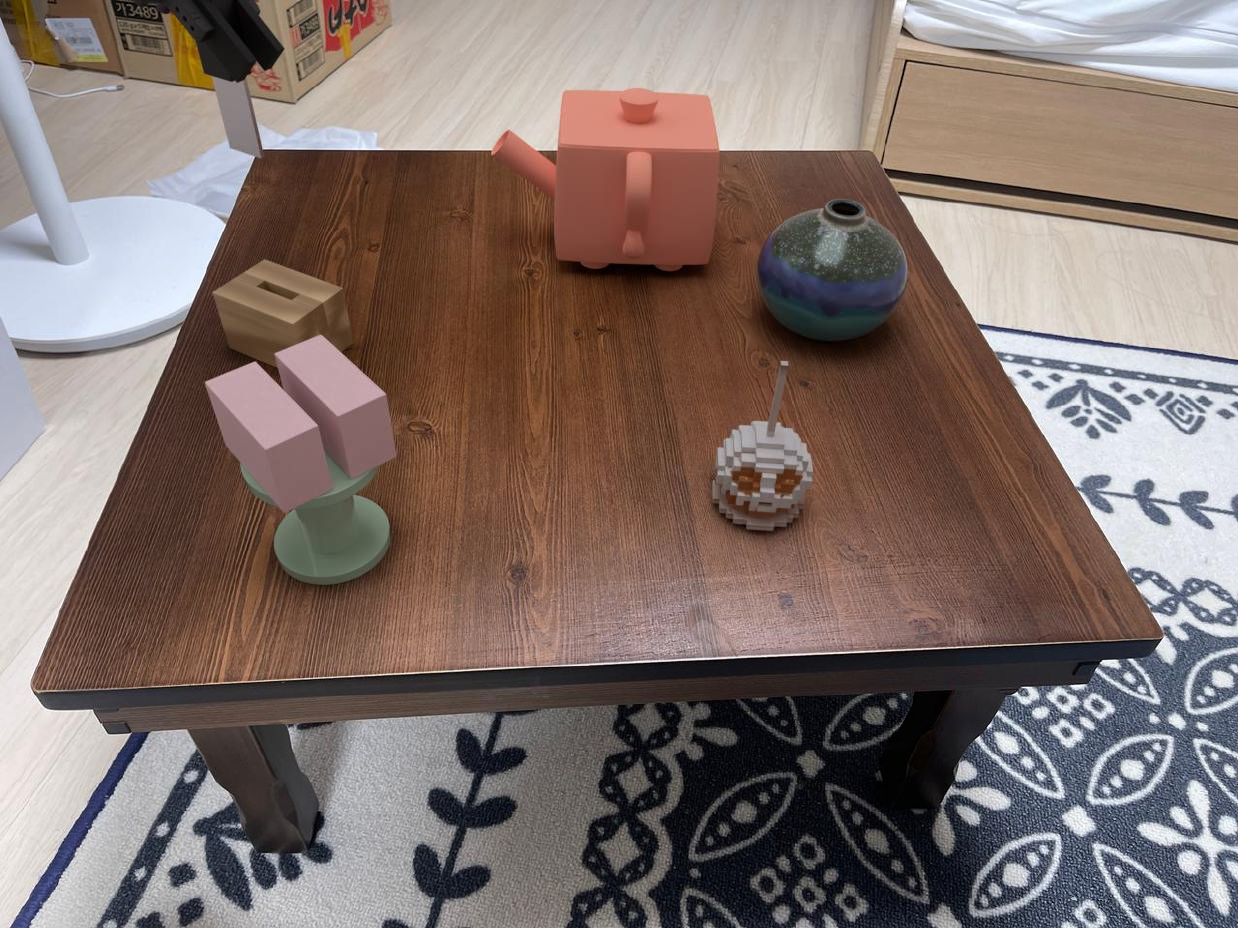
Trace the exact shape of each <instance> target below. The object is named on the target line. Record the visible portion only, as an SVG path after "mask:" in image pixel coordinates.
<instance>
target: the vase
mask: <svg viewBox="0 0 1238 928" xmlns="http://www.w3.org/2000/svg"><path fill="white" fill-rule="evenodd" d="M907 260H908V259H907V256H906V253H905V251H904V249H903V247H902V244H901V243H900V241H899V240H898V239H897V237H896V236H895V235H894V234H893V232H891V231H890V230H889V229H888V228H887V227H885V226H884V225H883V224H882V223H881V222H879V221H878V220H877V219H875V218H874V217H871V216H869V215H867V210H866V208H865V206H864V205H862V204H861V203H859V202H857V201H855V200H851V199H846V198H836V199H832V200H829V201H828V202H827V203H825V206H824V207H818V208H814V209H810V210H805V211H803V212H799V213H797V214H794V215H792V216H790V217H789V218H787V219H785V220H783V221H782V222H781V223H779V225H777V226H776V227H775V228H773V230H772V231H771V232H770V233H769V235H768V236H767V238H766V239H765V240H764V242H763V244H762V246H761V248H760V252H759V255H758V259H757V265H756V267H757V269H756V279H757V287H758V291H759V294H760V297H761V299H762V302H763V304H764V305H765V307H766V309H767V311H768V313H770V314H771V316H772V317H773V318H774V319H775V320H776V321H777V322H778V323H780V325H782V326H783V327H785V328H786V329H787V330H790V331H791V332H793V333H795V334H797V335H800V336H802V337H805V338H807V339H808V338H809V339H812V340H815V341H822V342H844V341H849V340H855V339H857V338H860V337H863V336H865V335H867V334H869V333H871V332H873V331H874V330H876V329H878V328H879V327H880V326H881V325H882V324H884V323H885V322H886V321H887V320H888V319H889V318H890V317H891V316H892V315H893V314H894V312H895V311H896V309H897V308H898V307H899V304H900V303H901V301H902V298H903V296H904V294H905V292H906V288H907V284H908V276H909V267H908V261H907Z"/></svg>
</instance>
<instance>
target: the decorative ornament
mask: <svg viewBox="0 0 1238 928" xmlns="http://www.w3.org/2000/svg"><path fill="white" fill-rule="evenodd" d="M788 371H789V361H788V360H780V362H779V367H778V372H777V377H776V381H775V387H774V392H773V395H772V396H773V397H772V402H771V406H770V411H769V417H768V420H767V421H765V420H764V421H763V420H753V421H751V422H750V425H748V424H747V425H746V424H739V425H738V427H737V429H731V433H730V434H729V435H730V436H729V437H725V438H723V443H722V446H721V447H720V446H718V447H717V450H716V455H715V463H714V479H713V480H712V482H711V498H712V499H711V500H712V502H711V503H712V504H718V513H719V514H725V518H726V519H731V520H732V524H737V525H746V526H745V529H746V530H755V531H766V532H767V531H770V532H774V529H775V527H780V528H786V527H787V524H788V523H793V520H794V519H799V516H800V510H804V509H805V497H804V496H805V492H806V491H807V492H810V491H811V488H812V484H813V473H814V470H813V461H812V455H811V453H809V452H808V446H807V442H802V438H801V437H800V436H799V433H796V432H795V431H794V428H792V427H783V425H782V424H781V423H782V422H779V421H778V419H779V418H778V417H779V413H780V409H781V403H782V399H783V394H784V390H785V385H786V380H787V376H788Z"/></svg>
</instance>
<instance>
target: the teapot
mask: <svg viewBox="0 0 1238 928" xmlns="http://www.w3.org/2000/svg"><path fill="white" fill-rule="evenodd" d="M560 103H561V104H560V113H559V125H558V137H557V149H556V164H554V163H553V162H552V161H550V160H549V159H548V158H547V157H545V156H544V155H543V154H541V153H540V152H539V151H537V150H536V149H535V148H534V147H533V146H531V145H530V144H529V143H527V142H526V141H525V140H523V139H522V138H521V137H519V136H518V135H517V134H515V133H514V132H513V131H512V130H511V129H507V130H505V131H504V132H503V133H502V135H500V137H499V138H498V139H497V141H496V142H495V144H494V146H493V148H492V149H491V152H490V153H491V154H490V156H492V157H493V158H495V159H496V160H497V161H499V162H500V163H501V164H503V165H504V166H506V167H507V168H509V169H510V170H512V171H513V172H514V173H515V174H517V175H518V176H520V177H521V178H523V179H524V180H525V181H527V182H528V183H530V184H531V185H532V186H533V187H535V188H537V189H538V190H540V192H542V193H544V194H545V195H546V196H548V197H549V198H551V199H552V200H553V201H554V210H553V211H554V212H553V234H554V236H553V237H554V246H555V247H554V248H555V255H556V260H558V261H566V262H580V265H582V266H583V267H585V268H588V269H593V270H597V269H598V270H599V269H604V268H606V267H607V266H609V265H610V264H622V265H654V266H655V268H657V269H659V270H661V271H665V272H674V271H678V270H680V269H681V268H683V266H699V265H708V264H709V262H710V258H711V255H712V250H713V245H714V237H715V230H716V219H717V208H718V207H717V206H718V193H719V192H718V191H719V171H720V144H719V140H718V133H717V128H716V122H715V116H714V113H713V107H712V103H711V100H710V97H709V95H706V94H697V93H696V94H695V93H694V94H692V93H677V92H658V91H657V92H656V91H653V90H651V89H648V88H643V87H641V88H640V87H633V88H627V89H624V90H601V89H599V90H597V89H596V90H594V89H566V90H564V91H563V92H562V96H561V102H560Z"/></svg>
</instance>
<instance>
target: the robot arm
mask: <svg viewBox="0 0 1238 928" xmlns="http://www.w3.org/2000/svg"><path fill="white" fill-rule="evenodd" d="M131 1H132V2H133V3H134V4H135V5H137V6H139V7H143V8H145V7H147V6H148V5H149V4H156V7H155V10H157V12H159V13H160V14H163V15H168V14H171V13H172V14H173V16H174V17H175V18H176V19H177V21H178V22H179V23H180V24H181V26H182V27H183V28H184V29H185V30H186V31H187V33H188V34H189V35H190V37H191V38H192V39H193V40H196V41H197V42H199V43H201V42H205V44H206V45H207V46H208V47H209V49H210V50H211V51H212V52H213V54H214V55H215V56H216V57H217V59H218V60H219V61H220V62H221V64H222V65H223V66H224V67H225V69H226V70H227V71H228V72H229V74H230V75H231V76H232V77H233V79H234V80H235V81H236V82H237V83H239V82H241V81H243V80H245V78H246V79H247V77H248V76H249V75H250V74H249V72H250V71H251V72H252V69H253V67H254V66H255V64H256V63H257V64H258V65H259V66H260V67H261V69H262V70H263V71H264V72H267V71H269V70H271V69H273V67H274V66H275V64H276V63H277V61H278V59H279V58H280V57H281V55H282V54H283V52H284V51H285V49H286V48H285V47H284V45H282V43H281V42H280V40H279V39H278V38H277V36H276V35H275V34H274V33H273V32H272V30H271V29H270V28H269V26H268V25H267V24H266V22H265V21H264V20H263V19H262V17H261V16H260V14H261V10H260V6H259V4H258V3H257V2H256V0H235V1H236V5H237V10H238V14H239V19H240V23H241V27H242V32H243V36H244V41H245V44H244V43H243V42H242V40H241V39H240V38H239V36H238V35H237V34H236V33H235V31H234V30H233V29H232V28H231V26H230V25H229V24H228V22H227V21H226V20H225V19H224V17H223V16H222V15H221V14H220V12H219V11H218V10H217V8H216V7H215V6H214V5H213V3H212V2H211V1H210V0H131ZM196 41H195V42H196ZM248 74H249V75H248Z"/></svg>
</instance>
